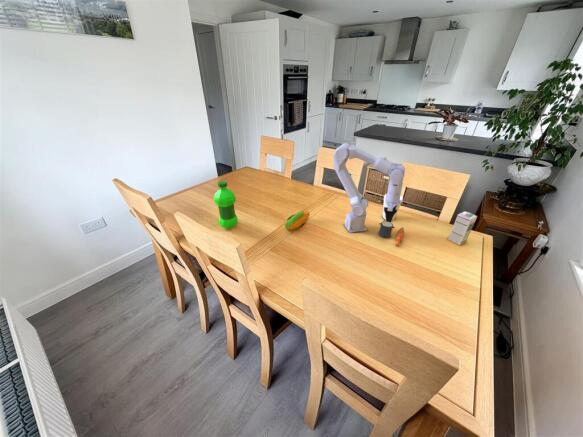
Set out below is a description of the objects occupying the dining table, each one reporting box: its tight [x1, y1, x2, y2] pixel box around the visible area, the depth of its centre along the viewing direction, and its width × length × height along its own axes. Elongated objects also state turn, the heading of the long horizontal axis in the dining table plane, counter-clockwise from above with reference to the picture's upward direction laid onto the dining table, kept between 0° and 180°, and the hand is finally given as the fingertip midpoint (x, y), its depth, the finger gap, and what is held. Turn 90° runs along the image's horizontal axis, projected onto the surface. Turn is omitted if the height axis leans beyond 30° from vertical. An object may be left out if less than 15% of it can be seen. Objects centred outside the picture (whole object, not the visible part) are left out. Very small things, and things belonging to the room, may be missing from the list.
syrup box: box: [447, 211, 478, 246], centre depth 110 cm, size 6×6×14 cm
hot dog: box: [284, 210, 310, 232], centre depth 124 cm, size 7×8×20 cm
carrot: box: [395, 227, 405, 247], centre depth 115 cm, size 16×3×3 cm, turn 150°
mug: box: [378, 220, 396, 239], centre depth 116 cm, size 6×7×7 cm
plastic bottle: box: [213, 180, 239, 230], centre depth 118 cm, size 10×10×25 cm
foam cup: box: [382, 193, 404, 221], centre depth 129 cm, size 10×9×13 cm
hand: (389, 217), depth 113 cm, fingers open, 7 cm apart
